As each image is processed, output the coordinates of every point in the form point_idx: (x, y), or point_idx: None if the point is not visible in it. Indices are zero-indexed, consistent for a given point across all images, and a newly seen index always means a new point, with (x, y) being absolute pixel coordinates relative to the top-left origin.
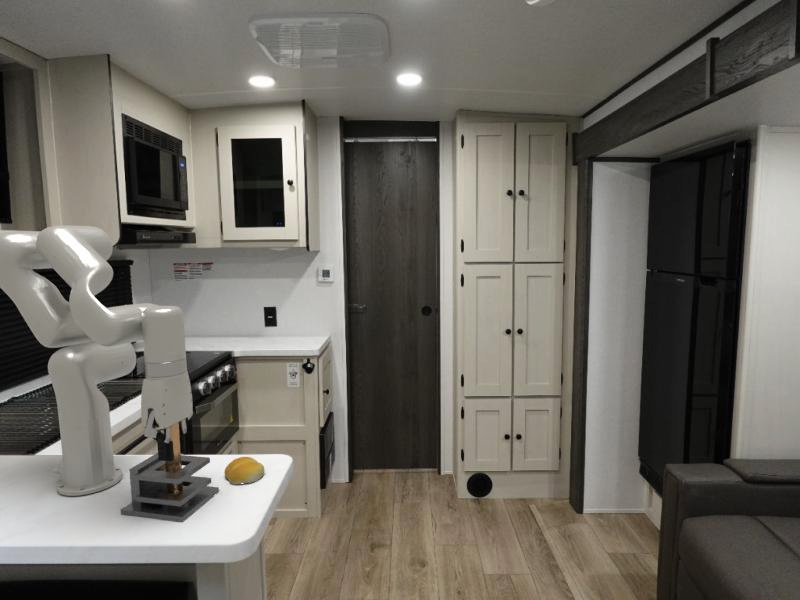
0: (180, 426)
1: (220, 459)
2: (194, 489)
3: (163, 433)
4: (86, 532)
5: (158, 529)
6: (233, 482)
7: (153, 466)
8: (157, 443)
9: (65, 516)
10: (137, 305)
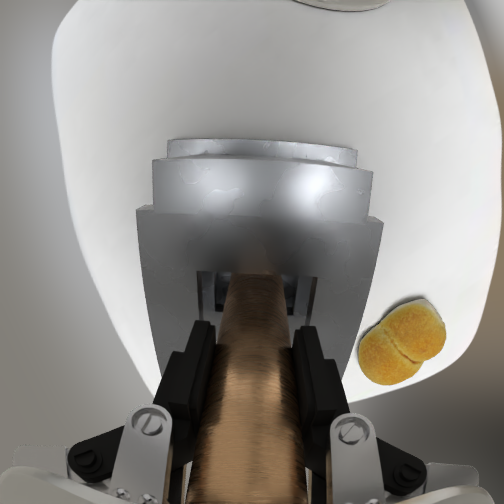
0: (311, 496)
1: (483, 234)
2: None
3: (196, 463)
4: (93, 128)
5: (142, 285)
6: (360, 343)
7: (233, 239)
8: (173, 388)
9: (148, 16)
10: None
